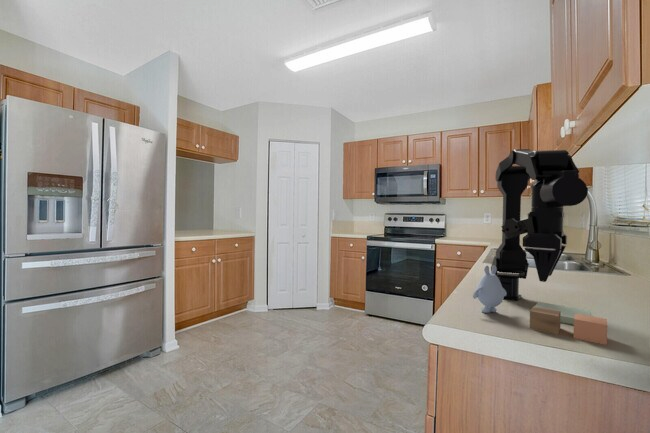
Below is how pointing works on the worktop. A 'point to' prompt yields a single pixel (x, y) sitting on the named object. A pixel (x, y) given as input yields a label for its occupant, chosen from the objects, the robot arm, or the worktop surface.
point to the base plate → (565, 311)
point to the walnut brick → (545, 320)
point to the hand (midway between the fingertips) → (545, 278)
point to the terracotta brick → (590, 328)
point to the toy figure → (490, 291)
